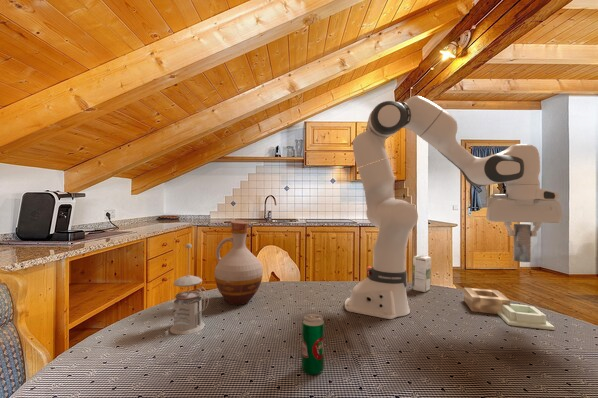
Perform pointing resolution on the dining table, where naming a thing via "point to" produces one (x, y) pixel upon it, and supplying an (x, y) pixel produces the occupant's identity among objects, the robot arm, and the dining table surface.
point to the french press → (188, 305)
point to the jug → (238, 268)
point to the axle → (522, 243)
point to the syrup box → (421, 273)
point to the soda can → (312, 344)
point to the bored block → (485, 300)
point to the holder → (524, 316)
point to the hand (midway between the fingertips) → (522, 236)
